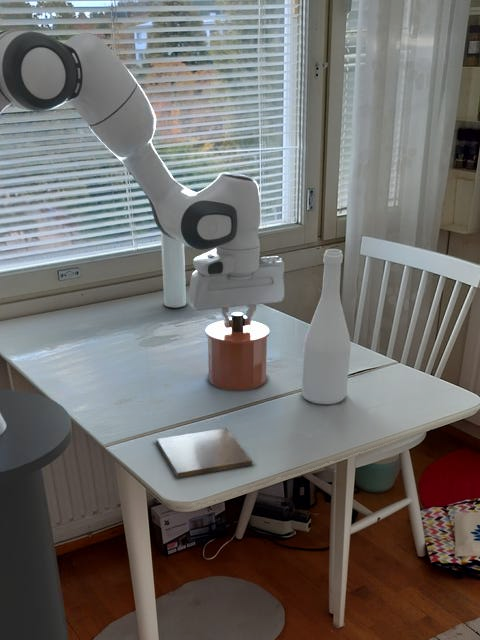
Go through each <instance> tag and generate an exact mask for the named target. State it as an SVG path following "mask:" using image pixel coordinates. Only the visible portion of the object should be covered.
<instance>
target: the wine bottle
mask: <svg viewBox="0 0 480 640" xmlns="http://www.w3.org/2000/svg"><path fill="white" fill-rule="evenodd" d="M343 258H344V254H343V251H342V250H341V249H340V248H339V249H338V248H327V249H326V250H325V251H324V253H323V262H322V263H323V264H324V265H323V266H324V267H323V275H322V289H321V294H320V298H319V300H318V304H317V306H316V309H315V311H314V313H313V317H312V319H311V322H310V324H309V327H308V328H307V332H306V334H305V337H304V340H303V350H302V351H303V352H302V368H301V370H302V371H301V387H300V388H301V390H300V391H301V395H302V397H303V398H304V399H305V400H306V401H308V402H310V403H313V404H317V405H333V404H337V403H340V402H342V401H343V400H344V399H345V397H346V395H347V393H348V392H347V391H348V380H349V367H350V357H351V345H352V343H351V337H350V332H349V329H348V325H347V321H346V318H345V313H344V310H343V305H342V300H341V293H340V289H341V274H342V273H341V271H342V270H341V269H342V264H343V260H344V259H343Z"/></svg>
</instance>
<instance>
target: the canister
mask: <svg viewBox="0 0 480 640" xmlns="http://www.w3.org/2000/svg"><path fill="white" fill-rule="evenodd" d="M267 346H268V337H267V338H265V339H263V340H261V341H258V342H254V343H247V344H229V343H222V342H218V341H215V340H212V339H210V338H209V337H207V357H208V360H207V362H208V363H207V365H208V381H209V383H210V384H212V385H213V386H215V387H216V388H219V389H222V390H229V391H248V390H253V389H257V388H260V386H262V385H264V384H265V383H266V380H267V351H268V348H267Z"/></svg>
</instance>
